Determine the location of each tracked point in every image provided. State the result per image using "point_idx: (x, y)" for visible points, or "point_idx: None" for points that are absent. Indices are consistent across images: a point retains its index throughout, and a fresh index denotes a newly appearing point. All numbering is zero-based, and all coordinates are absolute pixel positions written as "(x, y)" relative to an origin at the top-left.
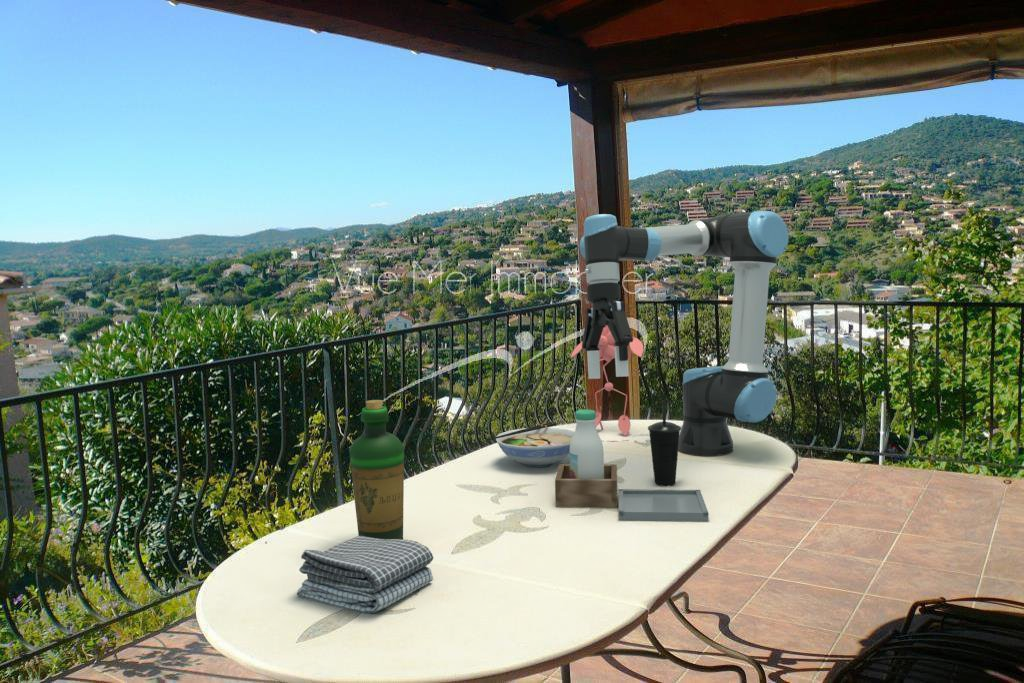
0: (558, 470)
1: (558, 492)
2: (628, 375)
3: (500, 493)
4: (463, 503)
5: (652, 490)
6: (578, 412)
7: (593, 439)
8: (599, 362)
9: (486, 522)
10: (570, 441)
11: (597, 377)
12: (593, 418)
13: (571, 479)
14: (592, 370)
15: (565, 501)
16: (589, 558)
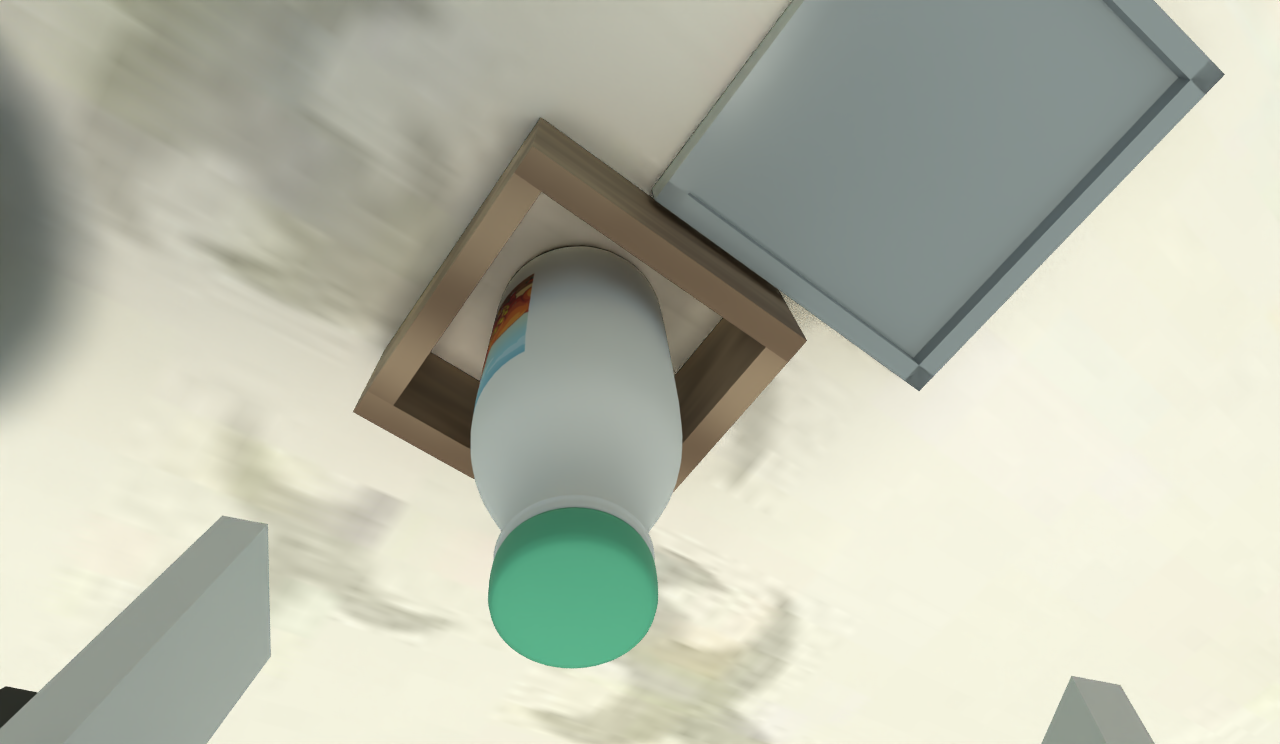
0: (469, 471)
1: None
2: (1120, 695)
3: (318, 572)
4: (380, 710)
5: (784, 60)
6: (581, 665)
7: (668, 486)
8: (115, 693)
9: (621, 719)
10: None
11: (263, 572)
12: (652, 556)
13: None
14: (208, 704)
15: None
16: (1090, 620)
